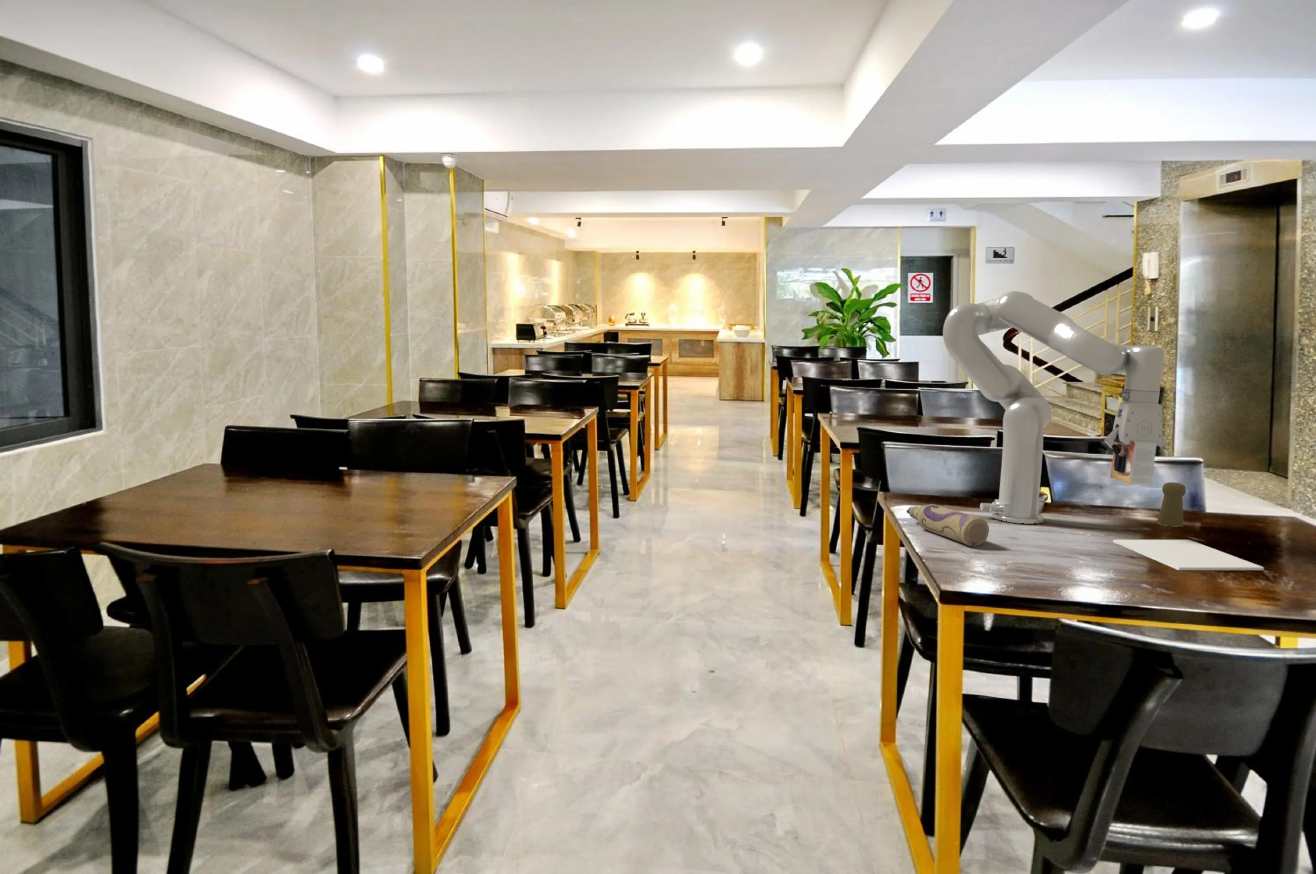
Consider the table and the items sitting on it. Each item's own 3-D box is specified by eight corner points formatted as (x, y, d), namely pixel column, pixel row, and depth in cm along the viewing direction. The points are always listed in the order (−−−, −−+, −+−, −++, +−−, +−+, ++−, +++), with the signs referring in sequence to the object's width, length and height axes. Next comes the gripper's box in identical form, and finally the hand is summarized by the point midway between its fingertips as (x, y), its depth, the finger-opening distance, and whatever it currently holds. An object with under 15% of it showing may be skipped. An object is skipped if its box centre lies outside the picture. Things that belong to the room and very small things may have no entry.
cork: (1180, 523, 229) (1185, 481, 227) (1186, 528, 223) (1190, 486, 221) (1154, 521, 230) (1158, 479, 229) (1159, 526, 225) (1163, 483, 223)
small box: (1109, 478, 217) (1114, 436, 216) (1131, 478, 218) (1136, 436, 216) (1129, 484, 210) (1134, 441, 208) (1151, 485, 210) (1157, 441, 208)
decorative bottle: (990, 546, 201) (992, 517, 200) (963, 548, 199) (965, 519, 198) (921, 520, 225) (923, 494, 224) (896, 522, 223) (897, 496, 222)
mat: (1178, 570, 184) (1179, 567, 184) (1113, 542, 207) (1113, 539, 207) (1263, 570, 186) (1263, 567, 186) (1189, 542, 209) (1189, 539, 209)
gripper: (1116, 398, 206) (1106, 474, 209) (1185, 400, 208) (1175, 476, 210) (1097, 394, 214) (1088, 468, 216) (1164, 397, 215) (1154, 470, 218)
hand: (1131, 471), depth 213 cm, fingers closed on small box, 5 cm apart
